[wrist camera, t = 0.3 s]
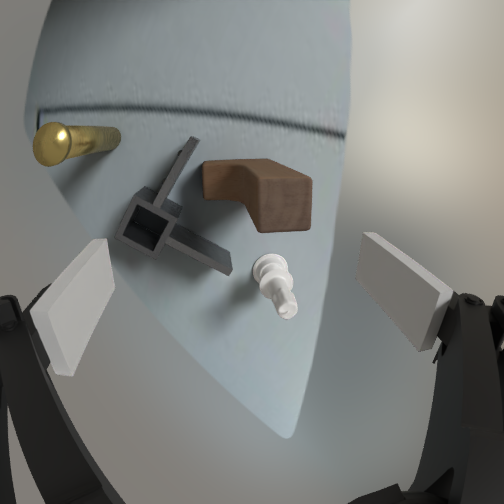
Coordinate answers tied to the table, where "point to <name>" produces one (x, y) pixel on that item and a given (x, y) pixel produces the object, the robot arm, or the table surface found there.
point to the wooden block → (262, 192)
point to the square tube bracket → (170, 222)
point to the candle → (276, 283)
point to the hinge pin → (72, 142)
